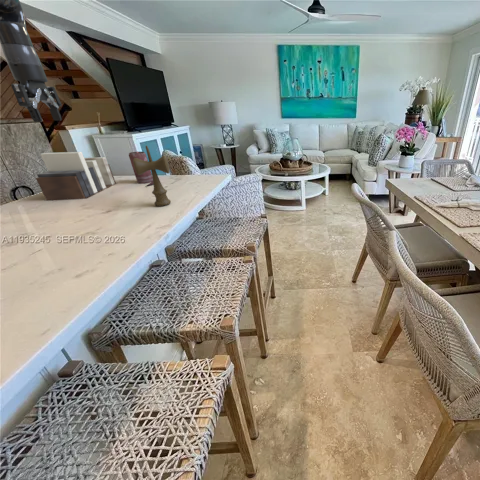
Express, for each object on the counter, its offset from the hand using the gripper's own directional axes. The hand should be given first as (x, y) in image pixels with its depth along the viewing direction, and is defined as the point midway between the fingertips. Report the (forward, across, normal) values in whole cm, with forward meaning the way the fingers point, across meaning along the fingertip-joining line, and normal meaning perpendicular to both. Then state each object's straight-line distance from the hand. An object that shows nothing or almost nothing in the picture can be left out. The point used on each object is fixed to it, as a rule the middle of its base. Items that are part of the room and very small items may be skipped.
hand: (48, 121), depth 89 cm
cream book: (+25, -1, -1) cm, 25 cm away
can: (+27, -16, +17) cm, 36 cm away
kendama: (+27, +13, +34) cm, 45 cm away
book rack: (+27, -5, -1) cm, 27 cm away
